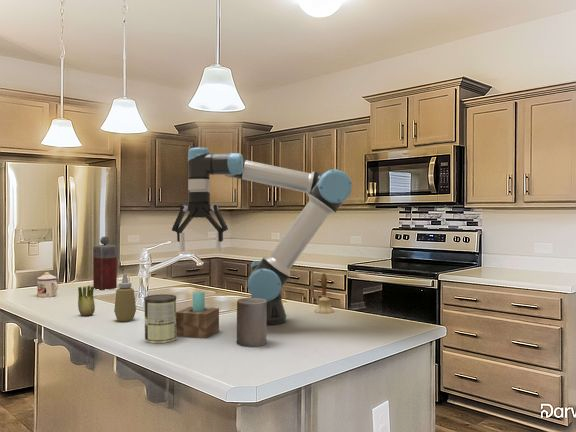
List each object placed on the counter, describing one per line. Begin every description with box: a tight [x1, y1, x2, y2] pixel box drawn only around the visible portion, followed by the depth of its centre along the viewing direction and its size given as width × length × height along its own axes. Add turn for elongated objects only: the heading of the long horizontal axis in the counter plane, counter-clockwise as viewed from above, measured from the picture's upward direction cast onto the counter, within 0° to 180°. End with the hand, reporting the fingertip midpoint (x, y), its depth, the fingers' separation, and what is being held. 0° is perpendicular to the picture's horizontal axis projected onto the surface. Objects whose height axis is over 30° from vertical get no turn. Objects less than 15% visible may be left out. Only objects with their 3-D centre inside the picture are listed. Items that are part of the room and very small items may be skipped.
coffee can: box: [143, 293, 177, 344], centre depth 170 cm, size 10×10×14 cm
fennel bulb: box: [77, 285, 96, 317], centre depth 208 cm, size 6×5×12 cm
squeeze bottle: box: [113, 273, 137, 322], centre depth 199 cm, size 8×8×18 cm
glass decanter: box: [92, 236, 118, 291], centre depth 279 cm, size 9×11×28 cm
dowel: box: [192, 291, 206, 312], centre depth 179 cm, size 4×4×14 cm
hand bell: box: [314, 273, 335, 314], centre depth 217 cm, size 8×8×16 cm
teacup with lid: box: [36, 271, 59, 298], centre depth 254 cm, size 12×9×12 cm
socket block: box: [176, 306, 220, 339], centre depth 179 cm, size 11×11×8 cm
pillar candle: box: [235, 296, 267, 348], centre depth 166 cm, size 10×10×15 cm
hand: (200, 251), depth 185 cm, fingers open, 13 cm apart
